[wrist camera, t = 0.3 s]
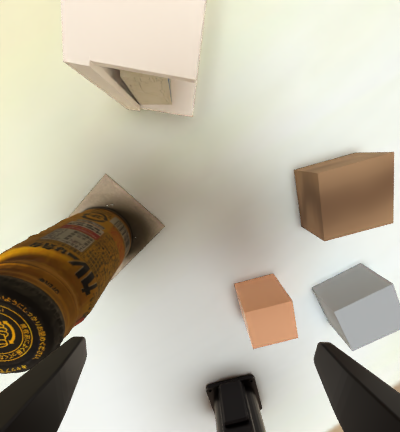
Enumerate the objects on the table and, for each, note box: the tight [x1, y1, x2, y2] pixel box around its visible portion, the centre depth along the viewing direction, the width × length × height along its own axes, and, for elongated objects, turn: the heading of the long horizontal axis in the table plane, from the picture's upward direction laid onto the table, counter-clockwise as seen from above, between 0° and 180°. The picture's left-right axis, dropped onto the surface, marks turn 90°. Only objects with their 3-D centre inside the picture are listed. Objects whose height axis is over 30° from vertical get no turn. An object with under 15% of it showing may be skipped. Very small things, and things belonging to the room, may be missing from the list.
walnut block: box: [294, 152, 394, 241], centre depth 19 cm, size 6×6×4 cm
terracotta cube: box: [234, 274, 298, 349], centre depth 21 cm, size 4×4×4 cm
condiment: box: [0, 174, 165, 374], centre depth 15 cm, size 7×8×12 cm
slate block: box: [312, 263, 400, 351], centre depth 22 cm, size 6×6×4 cm
